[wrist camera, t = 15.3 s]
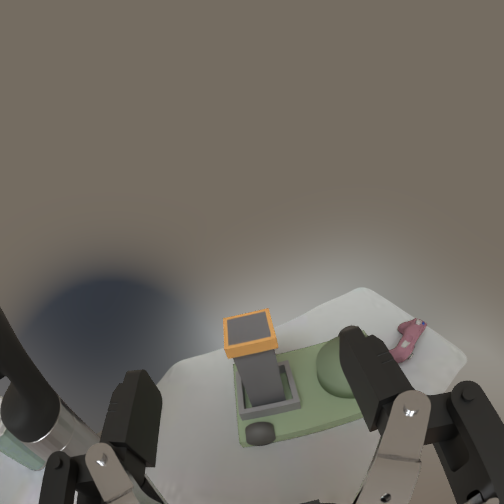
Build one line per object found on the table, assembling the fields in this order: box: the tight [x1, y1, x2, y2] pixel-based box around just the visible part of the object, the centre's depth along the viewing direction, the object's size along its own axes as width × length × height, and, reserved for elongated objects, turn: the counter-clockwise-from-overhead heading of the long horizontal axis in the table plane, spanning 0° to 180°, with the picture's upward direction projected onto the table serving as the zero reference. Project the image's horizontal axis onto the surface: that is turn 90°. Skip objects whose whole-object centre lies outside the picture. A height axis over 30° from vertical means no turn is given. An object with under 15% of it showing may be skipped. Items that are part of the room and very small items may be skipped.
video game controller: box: [389, 318, 427, 363], centre depth 40 cm, size 10×5×7 cm, turn 132°
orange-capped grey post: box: [223, 308, 286, 407], centre depth 36 cm, size 6×6×14 cm
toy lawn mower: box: [233, 326, 367, 447], centre depth 39 cm, size 24×16×5 cm
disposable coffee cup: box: [0, 396, 47, 471], centre depth 24 cm, size 11×11×15 cm
